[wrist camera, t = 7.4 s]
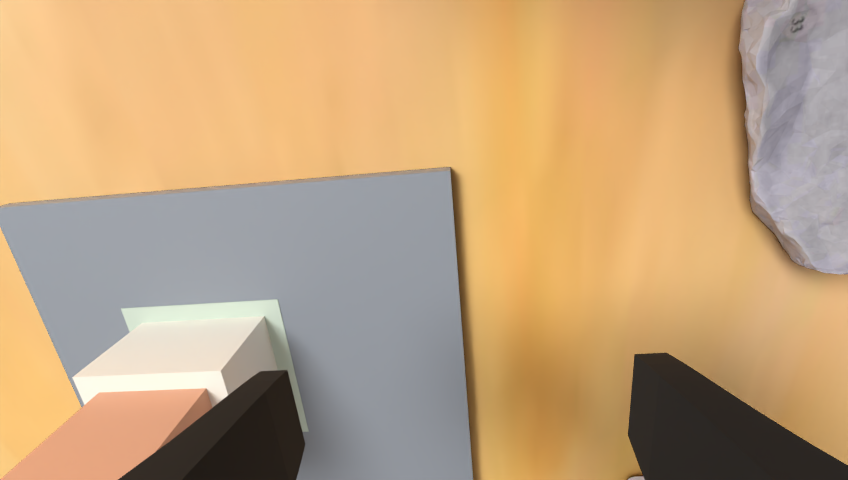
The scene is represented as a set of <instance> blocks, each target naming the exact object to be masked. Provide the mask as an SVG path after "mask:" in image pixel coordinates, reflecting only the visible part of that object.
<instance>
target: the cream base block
mask: <svg viewBox="0 0 848 480" xmlns="http://www.w3.org/2000/svg"><path fill="white" fill-rule="evenodd" d="M275 370H278V369H277V365H276V361H275V357H274V353H273V349H272V345H271V341H270V337H269V333H268V329H267V325H266V321H265V317H264V316H256V317H238V318H220V319H202V320H184V321H165V322H147V323H141V324H140V325H139V326H137V327H136V328H135V329H134V330H132V331H131V332H130V333H128V334H127V335H126V336H125V337H123V338H122V339H121V340H119V341H118V342H117V343H116V344H114V345H113V346H112V347H110V348H109V349H108V350H107V351H105V352H104V353H103V354H101V355H100V356H99V357H98V358H96V359H95V360H94V361H92V362H91V363H90V364H89V365H87V366H86V367H85V368H84V369H82V370H81V371H80V372H78V373H77V374H76V375H75V376H73V377H72V378H73V380H74V383H75V385H76V387H77V389H78V391H79V394H80V396H81V398H82V400H83V403H84V405H85V404H86V403H87V402H89V401H90V400H91V399H92V398H93V397H94V396H95V395H97V394H98V393H99V392H123V391H149V390H174V389H200V388H206V389H207V392H208V395H209V398H210V401H211V405H212V408H213V407H214V406H215V405H217V404H218V403H219V402H220V401H222V400H223V399H224V398H225V397H227V396H228V395H229V394H230V393H232V392H233V391H234V390H235V389H237V388H238V387H239V386H241V385H242V384H243V383H245V382H246V381H247V380H249V379H250V378H251V377H253V376H254V375H256V374H257V373H258V372H260V371H275Z"/></svg>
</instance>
